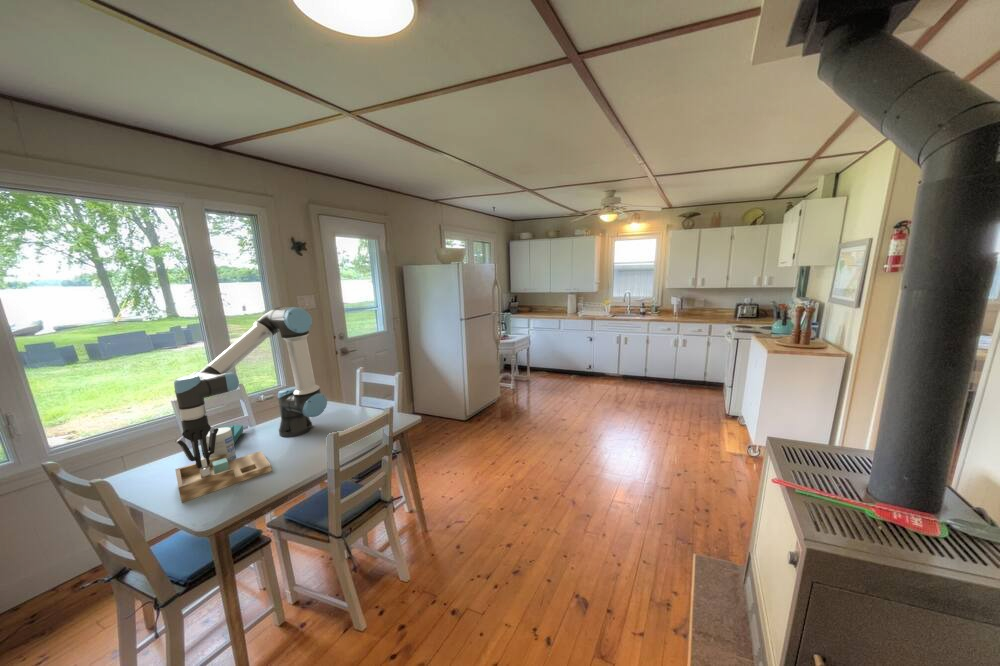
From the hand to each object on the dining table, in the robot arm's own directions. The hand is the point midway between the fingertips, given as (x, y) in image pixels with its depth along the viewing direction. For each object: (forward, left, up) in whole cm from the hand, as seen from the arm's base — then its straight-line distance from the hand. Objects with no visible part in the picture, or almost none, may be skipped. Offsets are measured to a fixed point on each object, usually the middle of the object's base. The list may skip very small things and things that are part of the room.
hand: (205, 473), depth 139 cm
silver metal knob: (0, +6, -1) cm, 6 cm away
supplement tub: (-7, -14, -4) cm, 16 cm away
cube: (-5, 0, -1) cm, 5 cm away
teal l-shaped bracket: (-11, -40, -4) cm, 41 cm away
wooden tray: (-6, 0, -4) cm, 7 cm away
